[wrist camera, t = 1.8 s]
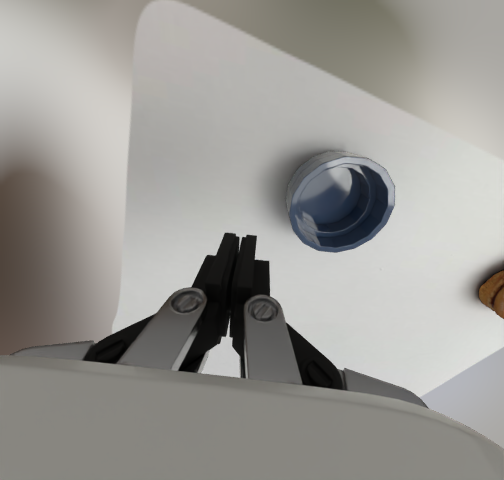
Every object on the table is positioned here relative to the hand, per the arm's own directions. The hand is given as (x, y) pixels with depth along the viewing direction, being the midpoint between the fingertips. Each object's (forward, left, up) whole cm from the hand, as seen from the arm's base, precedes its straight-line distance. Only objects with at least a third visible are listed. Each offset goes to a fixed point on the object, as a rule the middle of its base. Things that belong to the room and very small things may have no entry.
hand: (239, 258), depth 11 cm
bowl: (0, +8, -14) cm, 16 cm away
